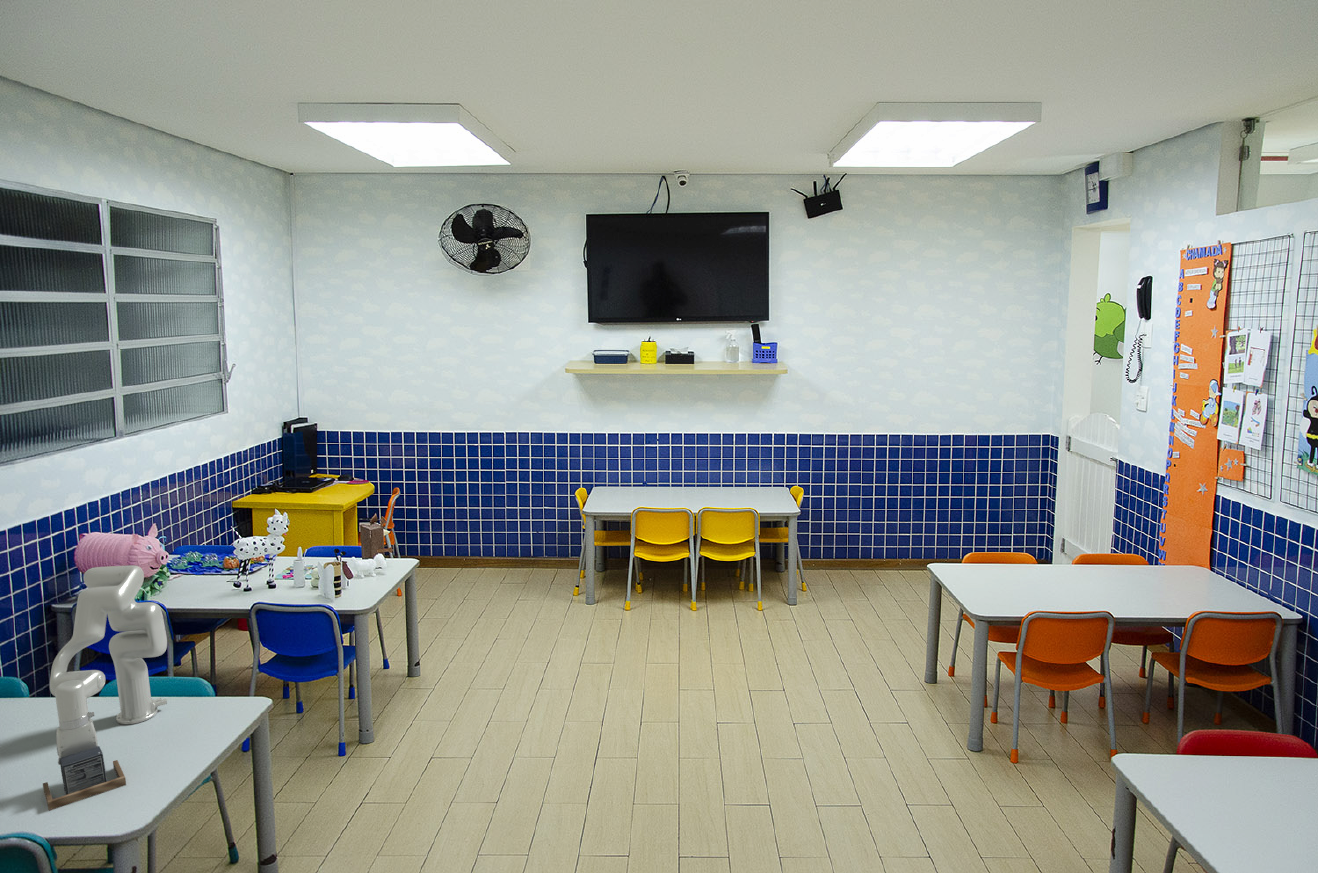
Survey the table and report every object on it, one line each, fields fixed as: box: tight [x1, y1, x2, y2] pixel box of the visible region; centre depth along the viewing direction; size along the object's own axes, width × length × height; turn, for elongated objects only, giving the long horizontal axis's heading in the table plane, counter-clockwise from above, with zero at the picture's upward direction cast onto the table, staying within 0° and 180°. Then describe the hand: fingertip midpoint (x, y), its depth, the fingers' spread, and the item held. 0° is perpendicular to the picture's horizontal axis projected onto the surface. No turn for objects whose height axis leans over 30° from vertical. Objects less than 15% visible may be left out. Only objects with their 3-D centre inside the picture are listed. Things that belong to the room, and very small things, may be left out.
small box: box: [59, 745, 108, 795], centre depth 257 cm, size 11×6×10 cm, turn 132°
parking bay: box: [42, 759, 127, 811], centre depth 257 cm, size 19×13×2 cm
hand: (81, 775), depth 261 cm, fingers closed
